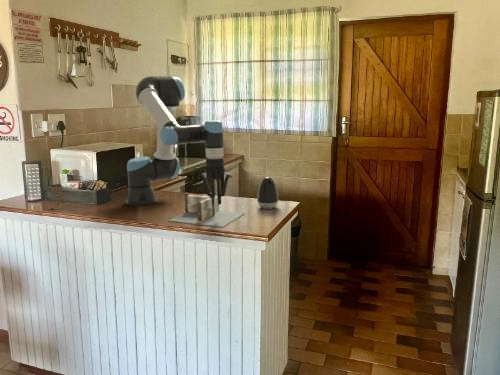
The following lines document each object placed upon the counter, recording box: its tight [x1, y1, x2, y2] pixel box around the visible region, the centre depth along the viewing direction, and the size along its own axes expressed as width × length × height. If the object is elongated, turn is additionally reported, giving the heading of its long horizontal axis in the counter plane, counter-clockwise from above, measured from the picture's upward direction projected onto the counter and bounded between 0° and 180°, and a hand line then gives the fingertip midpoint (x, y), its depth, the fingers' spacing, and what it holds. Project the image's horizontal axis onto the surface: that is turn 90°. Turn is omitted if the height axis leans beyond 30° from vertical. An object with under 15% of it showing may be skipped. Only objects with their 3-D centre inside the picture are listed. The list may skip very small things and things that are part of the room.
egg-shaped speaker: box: [256, 176, 279, 210], centre depth 206 cm, size 10×10×15 cm
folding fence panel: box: [197, 198, 213, 220], centre depth 190 cm, size 10×2×8 cm, turn 154°
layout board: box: [167, 210, 245, 229], centre depth 193 cm, size 27×22×1 cm
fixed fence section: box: [184, 192, 215, 215], centre depth 198 cm, size 16×3×9 cm, turn 66°
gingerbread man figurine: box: [51, 183, 68, 207], centre depth 215 cm, size 9×4×12 cm, turn 149°
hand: (217, 211), depth 185 cm, fingers closed
